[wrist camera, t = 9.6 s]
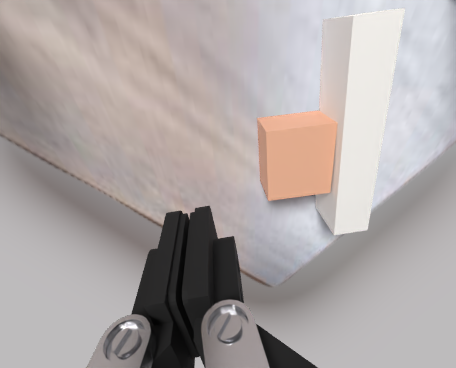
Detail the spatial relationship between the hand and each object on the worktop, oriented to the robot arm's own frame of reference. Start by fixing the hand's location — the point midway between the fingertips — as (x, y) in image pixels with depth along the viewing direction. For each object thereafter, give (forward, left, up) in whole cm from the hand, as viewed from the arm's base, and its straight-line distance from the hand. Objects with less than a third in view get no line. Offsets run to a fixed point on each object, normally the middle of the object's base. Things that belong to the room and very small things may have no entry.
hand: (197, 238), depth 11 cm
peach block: (-9, +6, -21) cm, 24 cm away
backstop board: (-15, +4, -21) cm, 26 cm away
